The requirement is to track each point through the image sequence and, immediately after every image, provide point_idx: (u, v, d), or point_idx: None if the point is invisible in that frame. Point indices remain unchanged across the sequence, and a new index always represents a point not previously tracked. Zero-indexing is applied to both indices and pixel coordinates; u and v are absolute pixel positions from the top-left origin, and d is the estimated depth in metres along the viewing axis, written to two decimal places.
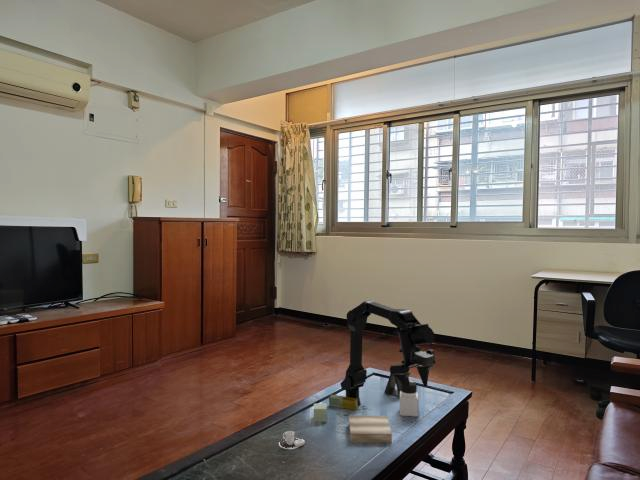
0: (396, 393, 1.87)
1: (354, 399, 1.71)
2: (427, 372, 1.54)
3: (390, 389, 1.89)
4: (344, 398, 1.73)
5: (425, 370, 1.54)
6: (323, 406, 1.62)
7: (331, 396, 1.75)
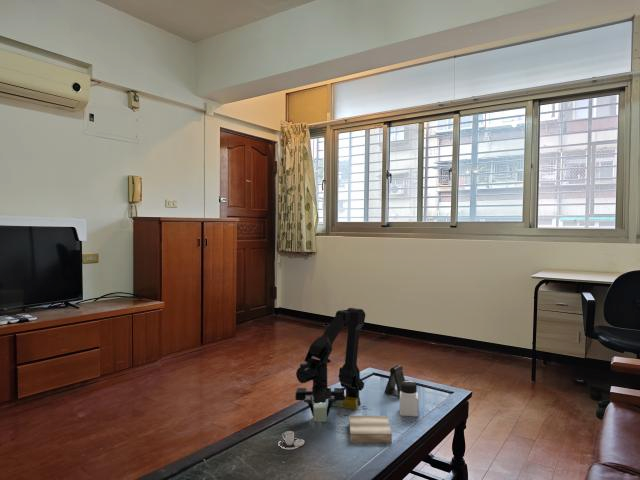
0: (396, 393, 1.87)
1: (355, 399, 1.71)
2: (329, 405, 1.62)
3: (390, 389, 1.89)
4: None
5: (328, 403, 1.62)
6: (323, 406, 1.62)
7: None
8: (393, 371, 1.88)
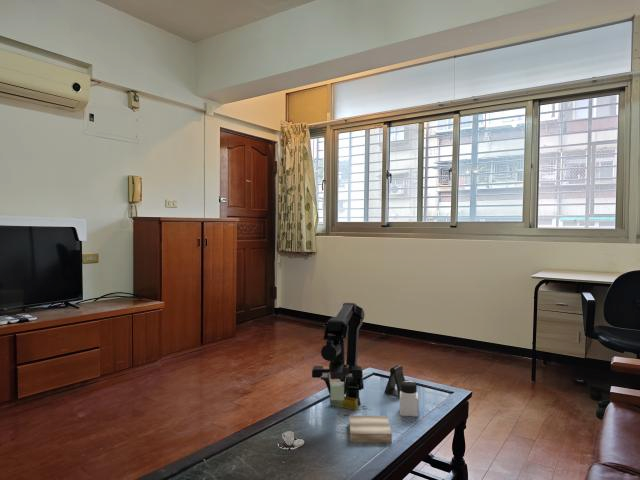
0: (396, 393, 1.87)
1: (354, 399, 1.71)
2: (346, 383, 1.57)
3: (390, 389, 1.89)
4: (344, 398, 1.73)
5: (345, 380, 1.57)
6: (340, 384, 1.58)
7: None
8: (393, 371, 1.88)
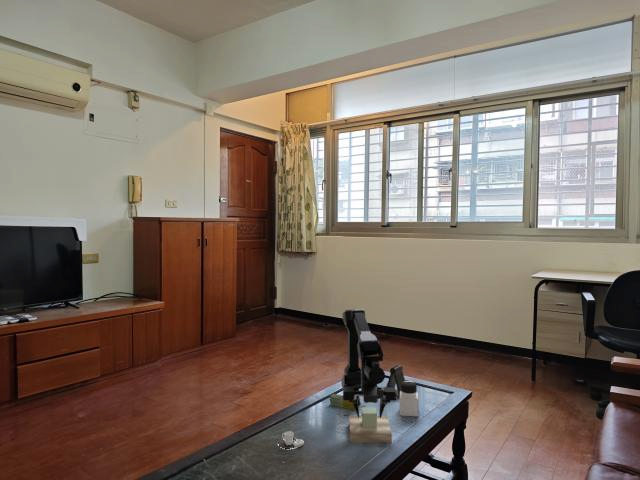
0: (396, 393, 1.87)
1: None
2: (382, 406, 1.50)
3: None
4: None
5: (381, 403, 1.50)
6: (372, 411, 1.51)
7: (332, 395, 1.76)
8: (393, 371, 1.88)
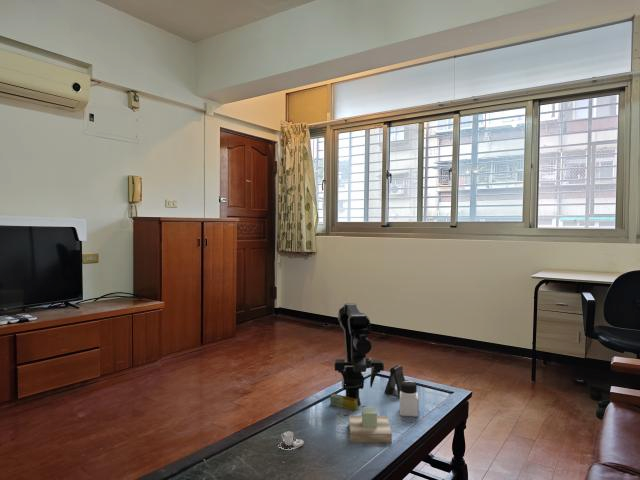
0: (396, 393, 1.87)
1: (354, 400, 1.71)
2: (373, 376, 1.62)
3: (390, 389, 1.89)
4: (344, 398, 1.73)
5: (371, 373, 1.62)
6: (372, 411, 1.51)
7: (332, 395, 1.76)
8: (393, 371, 1.88)
